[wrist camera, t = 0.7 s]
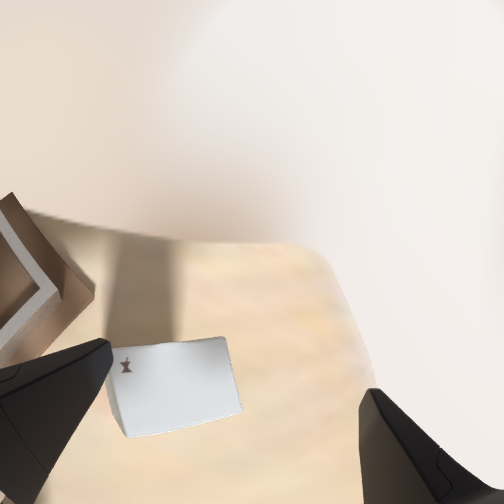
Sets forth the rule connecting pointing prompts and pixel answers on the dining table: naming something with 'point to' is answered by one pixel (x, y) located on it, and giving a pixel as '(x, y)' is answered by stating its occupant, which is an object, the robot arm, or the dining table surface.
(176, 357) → the skincare box
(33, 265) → the light gray square frame
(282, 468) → the dining table surface
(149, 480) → the dining table surface
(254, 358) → the dining table surface
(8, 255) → the square wooden tray
